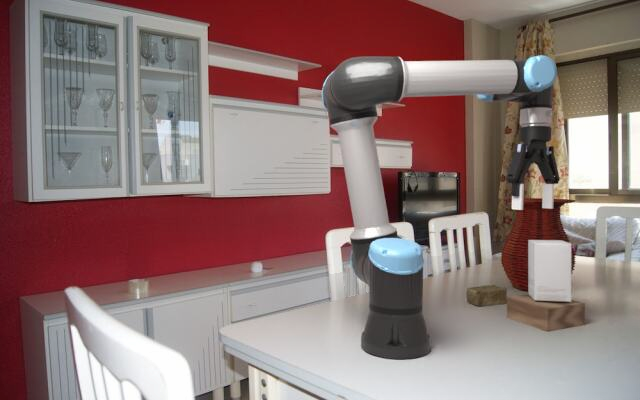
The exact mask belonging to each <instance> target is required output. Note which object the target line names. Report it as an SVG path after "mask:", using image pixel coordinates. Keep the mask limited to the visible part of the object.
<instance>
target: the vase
mask: <svg viewBox="0 0 640 400" xmlns="http://www.w3.org/2000/svg"><path fill="white" fill-rule="evenodd" d="M502 200H503V201H505V202H507V203H512V198H503V199H502ZM575 202H576V200H575V199H565V198H554V200H553V209H549V208H542V197H541V198H535V197H534V198H533V197H532V198H531V197H529V198H528V197H527V198H525V197H523V210H516V213H515V219H514V223H513V224H512V225H511V226H512V227H511V229H510V230H509V233H508V235H507V236H506V238H505V240H504V243H503V246H502V247H501V250H500V257H501V258H500V259H501V260H500V262H501V267H502V268H503V271H504V274H505V275H506V277H507V279H508V280H509V281H510V283H511V284H512V285H513V286H512V287H514V288H516V289H518V290H521V291H527V292H528V240H562V241H565V242H568V243H571V242H570V241H571V240H570V239H569V236H568V234H567V232H566V230H565V227H564V226H563V224H562V223H563V221H562V218H561V210H562V208H561V207H563V206H564V205H565V204H572V203H575ZM576 255H577V254H576V252H575V249H574V248H573V246H572V245H571V275H573V271H575V268H576V266H575V265H576V263H577V262H576V257H577V256H576Z"/></svg>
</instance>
